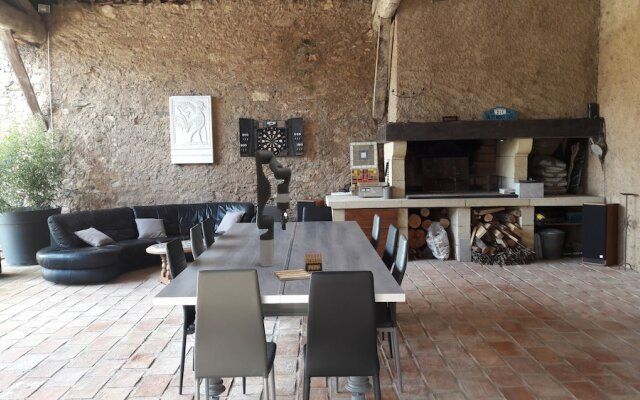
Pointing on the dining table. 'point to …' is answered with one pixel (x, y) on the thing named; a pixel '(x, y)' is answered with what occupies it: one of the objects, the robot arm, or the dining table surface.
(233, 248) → the dining table surface
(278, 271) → the oak board
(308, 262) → the ammunition clip
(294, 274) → the birch plank
